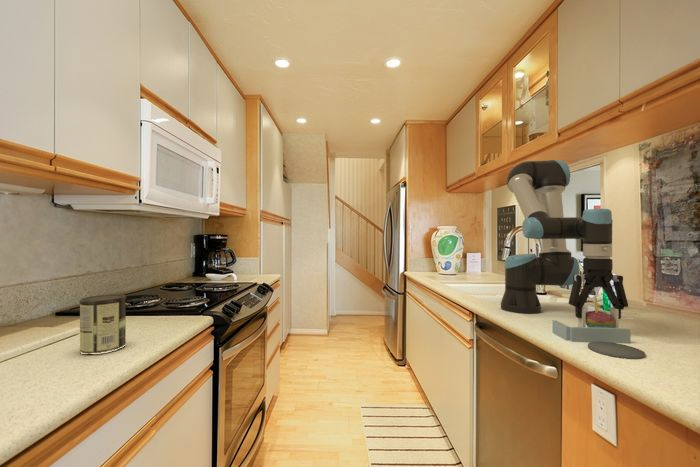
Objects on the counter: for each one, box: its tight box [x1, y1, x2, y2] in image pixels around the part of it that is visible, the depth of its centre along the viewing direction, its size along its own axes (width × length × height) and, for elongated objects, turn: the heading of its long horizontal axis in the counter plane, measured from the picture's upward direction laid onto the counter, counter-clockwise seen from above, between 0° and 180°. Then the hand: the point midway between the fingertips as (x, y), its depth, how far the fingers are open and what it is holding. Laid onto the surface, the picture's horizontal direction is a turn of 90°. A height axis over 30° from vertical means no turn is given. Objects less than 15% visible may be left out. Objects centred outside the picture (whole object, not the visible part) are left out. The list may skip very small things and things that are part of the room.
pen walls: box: [551, 319, 632, 344], centre depth 101 cm, size 9×17×4 cm, turn 85°
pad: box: [587, 342, 646, 360], centre depth 90 cm, size 12×12×1 cm
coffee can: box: [79, 293, 127, 354], centre depth 91 cm, size 10×10×14 cm
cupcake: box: [586, 296, 615, 328], centre depth 106 cm, size 9×8×12 cm
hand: (598, 328), depth 106 cm, fingers open, 9 cm apart
